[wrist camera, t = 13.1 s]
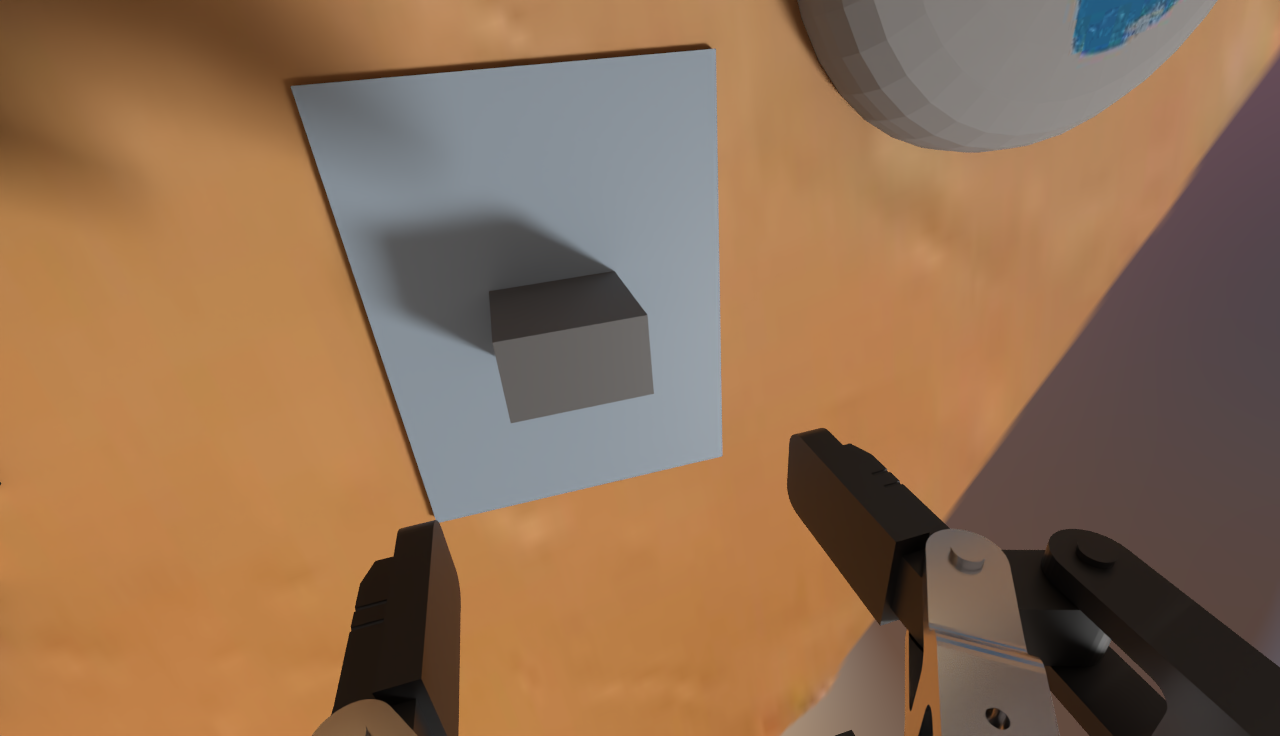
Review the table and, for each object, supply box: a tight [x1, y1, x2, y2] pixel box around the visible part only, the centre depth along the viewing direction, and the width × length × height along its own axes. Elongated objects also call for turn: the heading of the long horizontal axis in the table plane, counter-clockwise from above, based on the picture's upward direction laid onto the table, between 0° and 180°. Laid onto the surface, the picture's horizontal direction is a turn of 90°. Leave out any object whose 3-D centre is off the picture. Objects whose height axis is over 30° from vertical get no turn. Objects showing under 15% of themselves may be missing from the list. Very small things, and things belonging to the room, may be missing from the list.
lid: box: [291, 49, 722, 523], centre depth 21 cm, size 18×14×6 cm
